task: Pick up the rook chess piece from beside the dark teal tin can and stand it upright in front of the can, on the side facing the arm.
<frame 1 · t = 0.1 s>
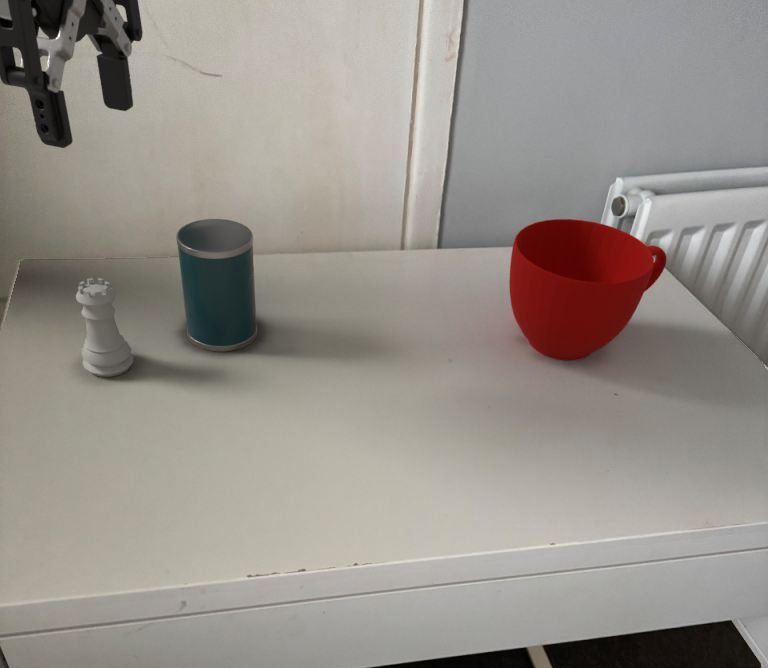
hand: (89, 125, 63), 21 cm above the table, tool pointing down, fingers open, 8 cm apart
tin can: (222, 332, 81), on the table
rook chess piece: (109, 366, 76), on the table
ceramic cup: (576, 340, 85), on the table
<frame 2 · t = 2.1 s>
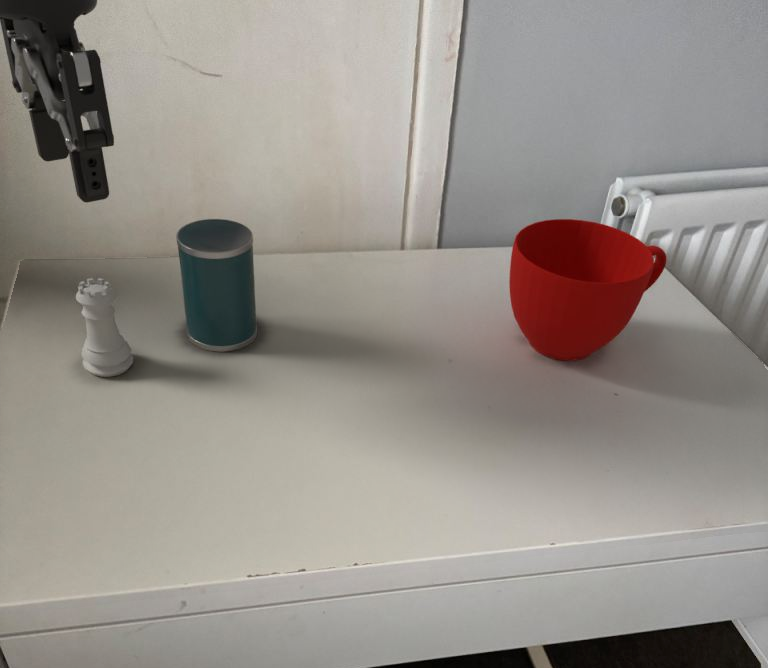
hand: (73, 178, 64), 17 cm above the table, tool pointing down, fingers open, 8 cm apart
nothing on the table moved.
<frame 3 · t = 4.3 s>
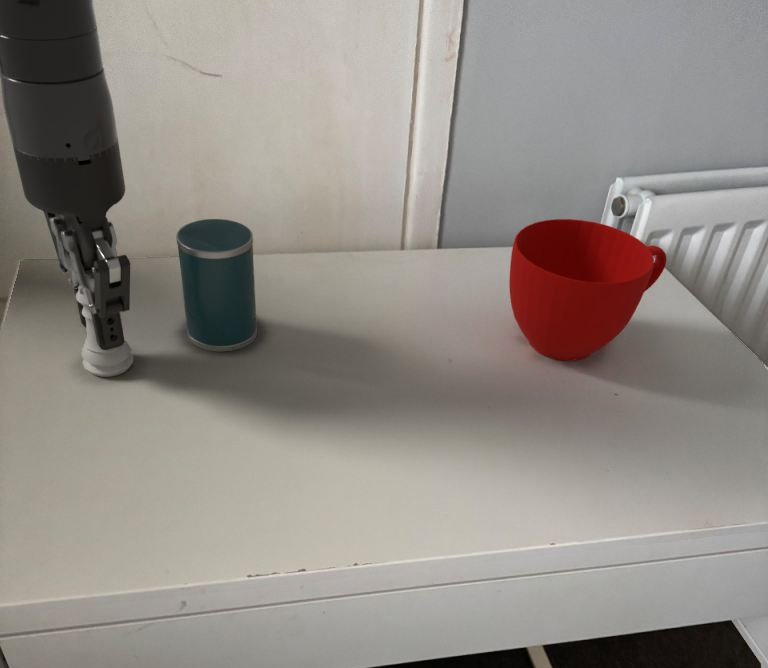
hand: (103, 334, 74), 3 cm above the table, tool pointing down, fingers closed on rook chess piece, 3 cm apart
rook chess piece: (109, 366, 76), on the table, touching gripper
everything else where it was.
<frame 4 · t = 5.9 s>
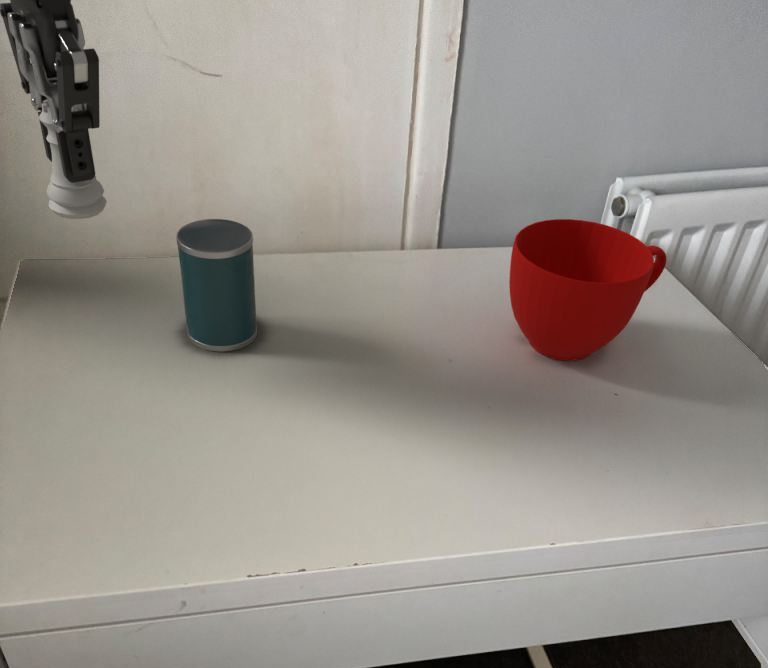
hand: (71, 168, 65), 17 cm above the table, tool pointing down, fingers closed on rook chess piece, 3 cm apart
rook chess piece: (79, 211, 67), point 14 cm above the table, touching gripper
everything else where it was.
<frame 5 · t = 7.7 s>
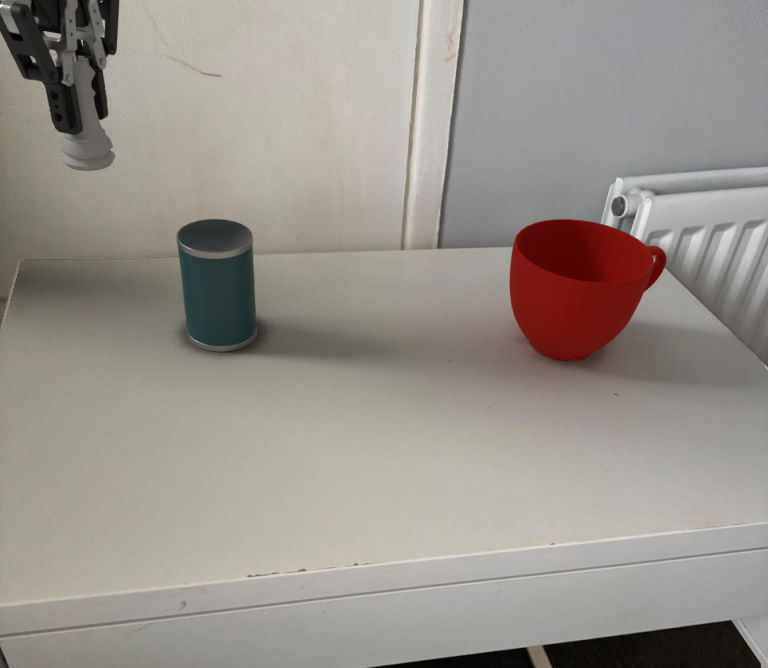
hand: (82, 123, 69), 18 cm above the table, tool pointing down, fingers closed on rook chess piece, 3 cm apart
rook chess piece: (89, 164, 71), point 15 cm above the table, touching gripper
everything else where it was.
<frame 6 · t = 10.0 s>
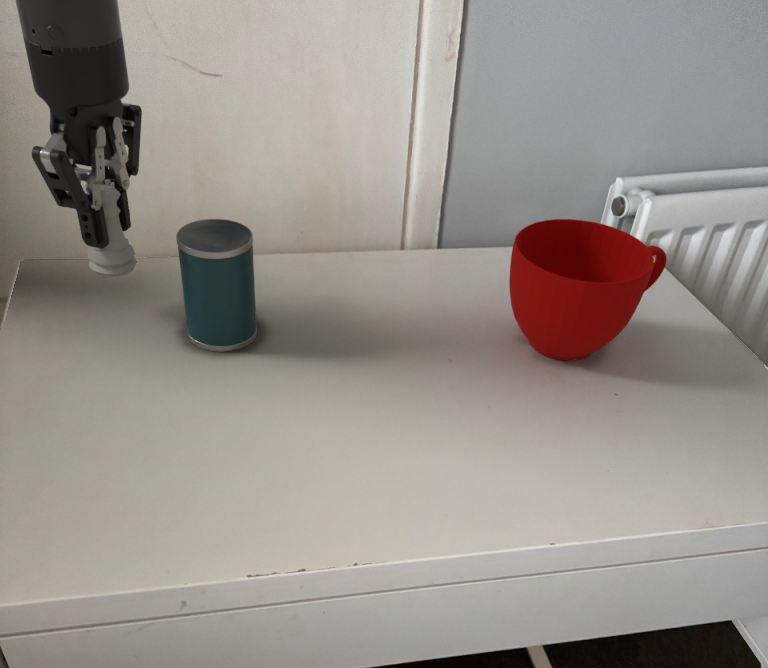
hand: (108, 236, 78), 8 cm above the table, tool pointing down, fingers closed on rook chess piece, 3 cm apart
rook chess piece: (114, 269, 80), point 4 cm above the table, touching gripper
everything else where it was.
when the fingers open (3 cm above the table, at t = 11.4 s): rook chess piece stays where it is, on the table.
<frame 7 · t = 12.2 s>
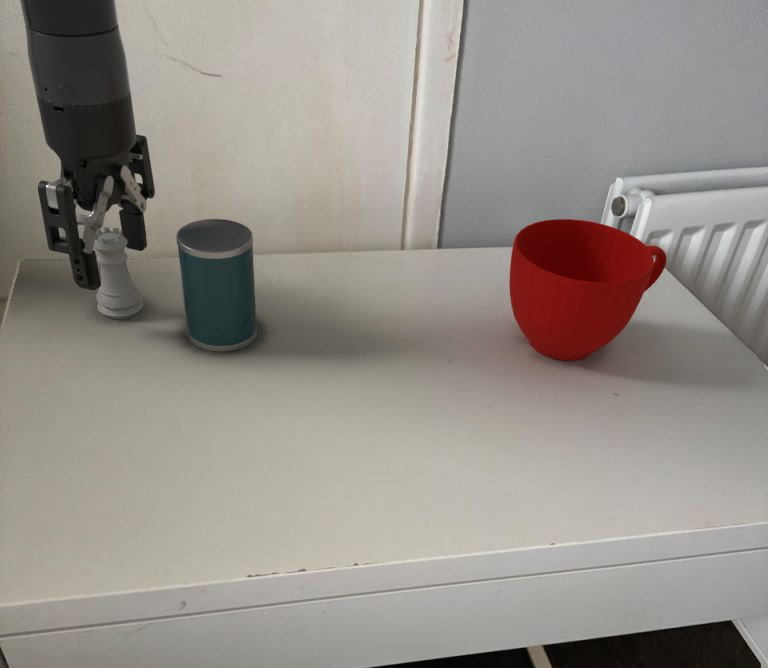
hand: (113, 267, 80), 5 cm above the table, tool pointing down, fingers open, 8 cm apart
rook chess piece: (121, 311, 83), on the table
everything else where it was.
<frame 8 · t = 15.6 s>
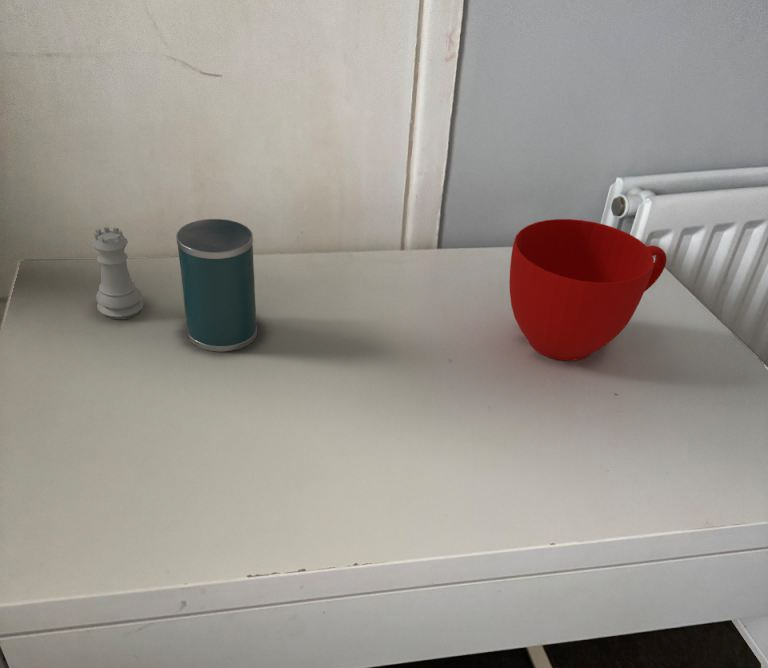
nothing on the table moved.
at the end: rook chess piece 0.0 cm from the target spot on the table beside the tin can, on the table; rook chess piece tilted 0°; tin can moved 0.0 cm from its start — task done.
